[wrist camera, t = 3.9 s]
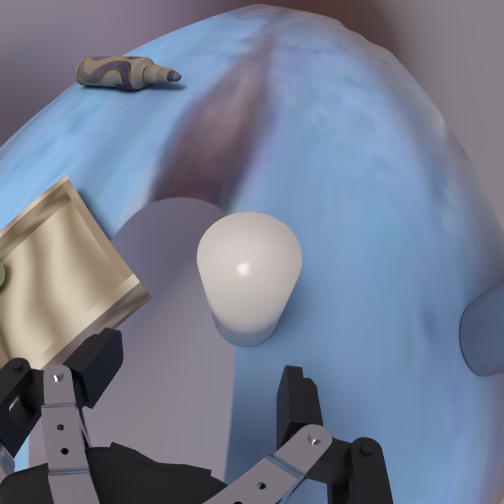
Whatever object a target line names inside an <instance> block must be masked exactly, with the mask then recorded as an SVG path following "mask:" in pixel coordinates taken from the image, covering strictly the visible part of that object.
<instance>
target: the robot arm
mask: <svg viewBox="0 0 504 504" xmlns="http://www.w3.org/2000/svg"><path fill="white" fill-rule="evenodd" d="M460 341H461V347H462V351H463V354H464V357H465V359H466V361H467V363H468V365H469V366H470V368H471V369H472V370H473V371H474V372H475V373H476V374H478V375H480V376H491V375H494V374H498V373H501V372H504V279H503V280H501V281H500V282H499V283H497V284H496V285H494V286H493V287H491V288H490V289H488V290H487V291H485V292H484V293H482V294H481V297H480V298H478V299H477V300H475V301H474V302H472V303H471V304H470V305H469V306H468V307H467V308H466V310H465V312H464V314H463V316H462V321H461V327H460ZM122 362H123V346H122V335H121V332H120V331H118V330H115V329H111V328H108V327H106V328H104V329H103V330H102V331H101V332H100V333H99V335H98V334H94V335H92V336H90V337H88V338H86V339H85V340H84V341H83V342H82V344H81V345H80V346H79V347H78V348H77V349H76V350H75V351H74V352H73V353H72V354H71V355H70V356H69V357H68V358H67V359H66V360H65V361H64V363H63V364H62V365H60V364H56V365H52V366H49V367H48V368H47V369H46V370H45V371H44V370H38V369H33V368H31V366H30V363H29V362H28V360H26V359H24V358H21V357H17V358H13V359H11V360H9V361H8V362H7V363H6V364H5V365H4V366H3V367H2V368H1V369H0V504H284V503H285V502H286V501H287V500H288V499H289V498H290V497H291V496H292V495H293V494H294V493H295V491H296V490H297V489H298V488H299V487H300V486H301V485H302V484H303V483H304V482H305V481H306V480H307V479H312V480H315V481H319V482H323V483H326V484H327V496H328V504H393V499H392V494H391V489H390V484H389V479H388V474H387V470H386V465H385V461H384V456H383V452H382V448H381V446H380V445H379V443H378V442H376V441H375V440H373V439H371V438H367V437H361V438H358V439H356V440H354V441H353V443H349V442H345V441H341V440H338V439H335V438H333V437H332V435H331V433H330V432H329V431H328V430H327V429H326V428H324V427H323V422H322V416H321V410H320V404H319V398H318V392H317V386H316V385H315V383H314V382H313V381H312V379H310V378H303V371H302V367H297V366H288V365H286V366H285V368H284V372H283V375H282V378H281V382H280V385H279V388H278V393H277V452H276V453H275V454H273V455H272V456H271V455H267V456H266V457H264V458H263V459H262V460H261V461H259V462H258V463H257V464H256V465H255V466H253V467H252V468H251V469H250V470H248V471H247V472H246V473H245V474H243V475H242V476H241V477H239V478H238V479H237V480H235V481H234V482H233V483H231V484H230V485H229V486H228V485H227V484H225V483H224V482H222V481H220V480H218V479H216V478H214V477H212V476H211V470H209V469H204V468H199V467H194V466H190V465H186V464H166V463H158V462H155V461H153V460H152V459H150V458H148V457H146V456H144V455H143V454H141V453H139V452H138V451H136V450H134V449H131V448H128V447H125V446H122V445H119V444H117V443H114V442H112V443H111V445H110V447H92V445H91V442H90V439H89V434H88V431H87V426H86V422H85V418H84V413H83V410H82V408H83V406H86V407H88V408H91V409H92V408H93V407H94V405H95V404H96V402H97V401H98V399H99V398H100V397H101V395H102V393H103V392H104V391H105V389H106V388H107V386H108V385H109V383H110V382H111V380H112V379H113V377H114V376H115V374H116V373H117V372H118V370H119V368H120V367H121V365H122ZM16 398H18V400H17V402H16V403H15V404H14V405H13V407H12V408H11V409H10V411H9V407H10V405H11V404H12V403H13V401H14V400H15V399H16ZM41 416H42V424H43V433H44V442H45V449H46V455H47V461H48V463H45V464H42V465H38V466H35V467H32V468H28V469H25V470H21V471H18V472H15V471H14V468H15V462H14V457H15V456H16V454H17V452H18V451H19V449H20V448H21V446H22V444H23V443H24V441H25V440H26V438H27V437H28V435H29V434H30V432H31V430H32V429H33V427H34V426H35V424H36V423H37V421H38V420H39V418H40V417H41Z"/></svg>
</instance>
